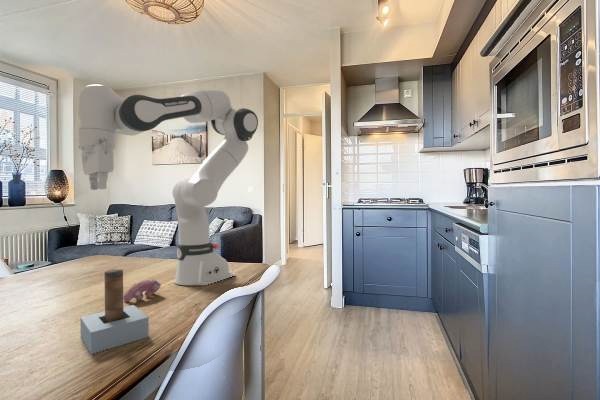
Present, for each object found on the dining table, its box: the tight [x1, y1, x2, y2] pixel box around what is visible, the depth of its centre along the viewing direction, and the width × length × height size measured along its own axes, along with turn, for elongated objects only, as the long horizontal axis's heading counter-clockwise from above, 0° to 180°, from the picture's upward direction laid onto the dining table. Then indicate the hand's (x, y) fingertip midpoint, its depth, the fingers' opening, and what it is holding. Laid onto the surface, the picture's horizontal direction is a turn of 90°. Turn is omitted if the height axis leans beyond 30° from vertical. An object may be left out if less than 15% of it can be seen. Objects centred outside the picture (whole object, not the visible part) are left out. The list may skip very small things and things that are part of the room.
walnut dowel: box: [104, 268, 124, 324], centre depth 69 cm, size 4×4×15 cm
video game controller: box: [123, 279, 161, 302], centre depth 95 cm, size 10×5×7 cm, turn 150°
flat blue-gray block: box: [80, 304, 150, 355], centre depth 69 cm, size 11×11×4 cm
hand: (98, 189), depth 88 cm, fingers open, 8 cm apart
